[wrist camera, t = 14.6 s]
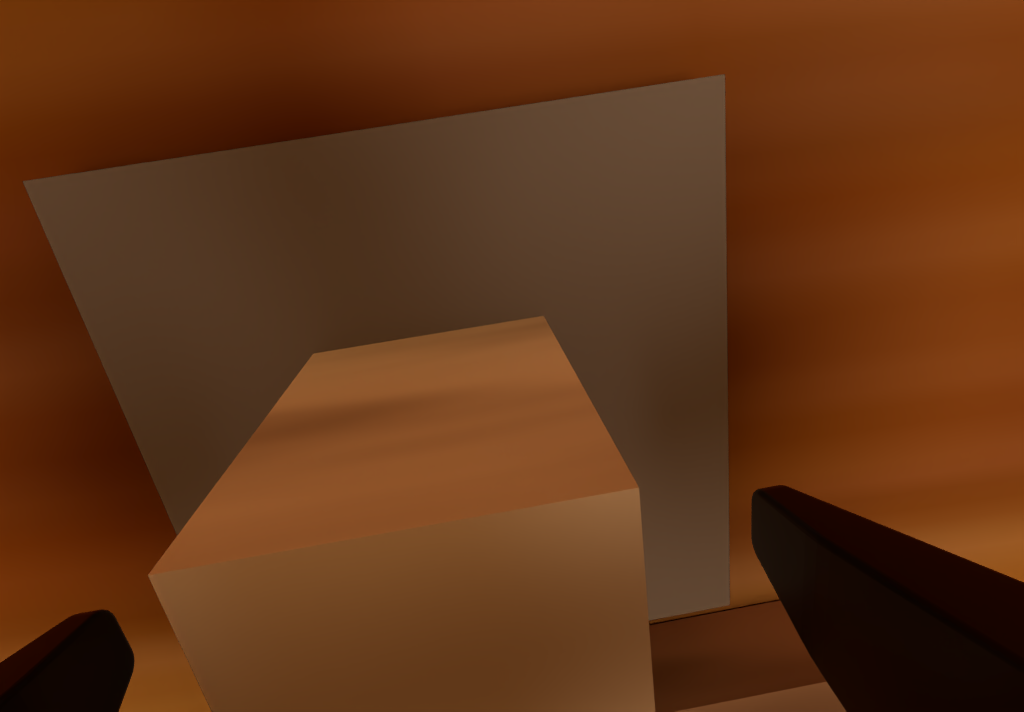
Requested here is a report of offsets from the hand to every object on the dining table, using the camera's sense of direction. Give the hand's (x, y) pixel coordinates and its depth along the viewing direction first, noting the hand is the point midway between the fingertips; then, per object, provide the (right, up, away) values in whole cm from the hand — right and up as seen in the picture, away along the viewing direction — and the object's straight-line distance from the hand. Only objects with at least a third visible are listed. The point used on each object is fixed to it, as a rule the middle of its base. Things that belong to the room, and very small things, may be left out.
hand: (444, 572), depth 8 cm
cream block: (0, +1, +4) cm, 4 cm away
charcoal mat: (-1, +2, +5) cm, 5 cm away
